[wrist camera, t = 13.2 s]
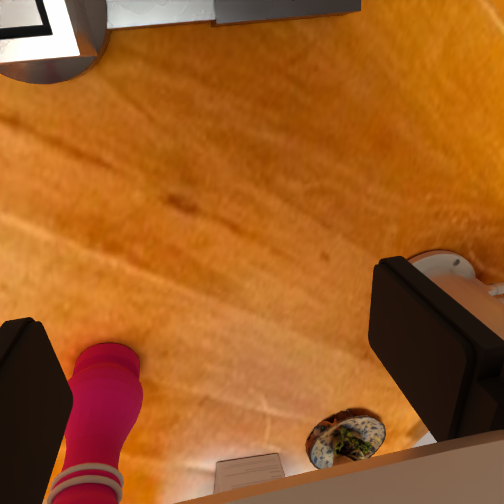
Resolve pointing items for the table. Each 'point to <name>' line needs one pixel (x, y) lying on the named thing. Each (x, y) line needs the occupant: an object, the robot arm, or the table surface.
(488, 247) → the table surface
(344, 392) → the table surface
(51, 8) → the socket
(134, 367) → the pepper mill
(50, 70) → the ratchet
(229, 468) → the supplement box
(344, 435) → the burger
